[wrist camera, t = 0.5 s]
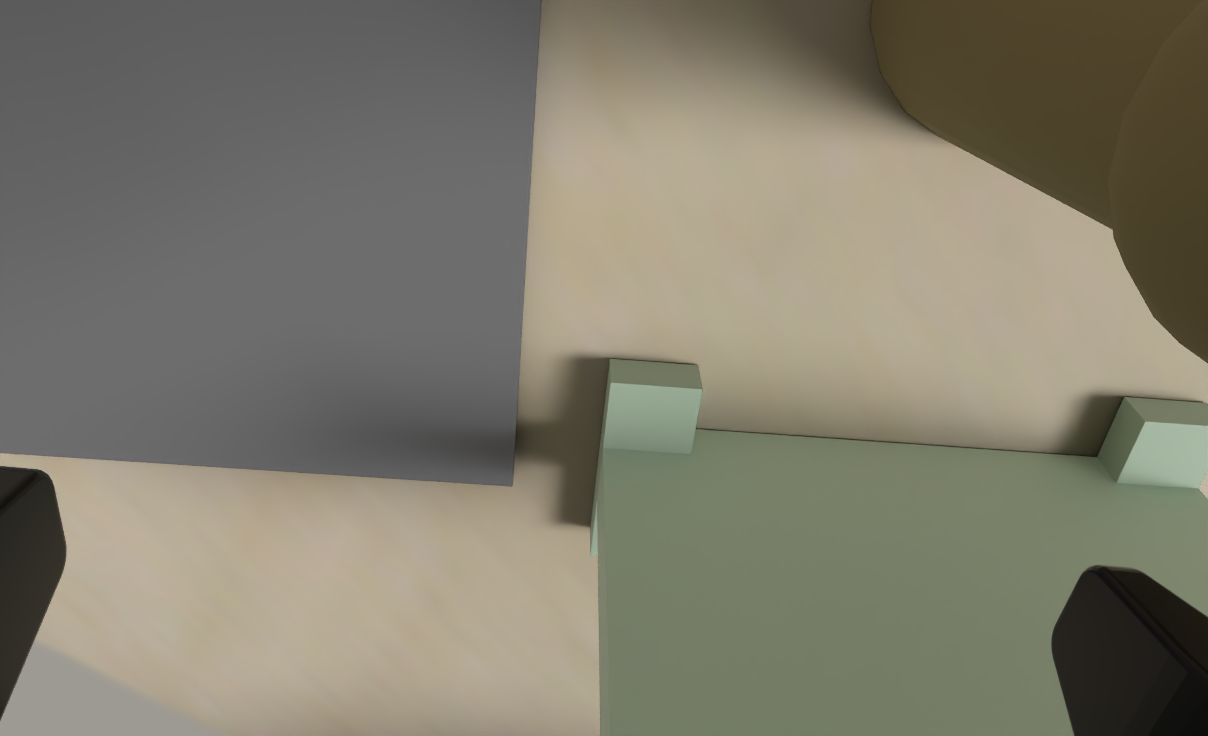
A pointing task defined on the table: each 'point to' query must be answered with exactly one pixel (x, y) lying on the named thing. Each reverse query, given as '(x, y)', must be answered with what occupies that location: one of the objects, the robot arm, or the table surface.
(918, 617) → the screen
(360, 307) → the mat
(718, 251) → the table surface
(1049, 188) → the olive bulbous piece
